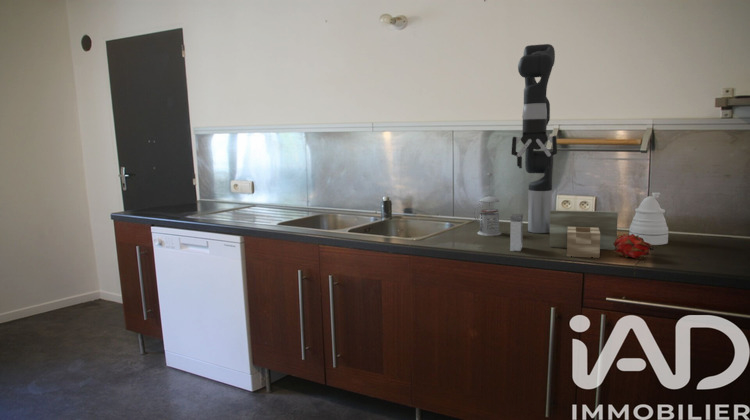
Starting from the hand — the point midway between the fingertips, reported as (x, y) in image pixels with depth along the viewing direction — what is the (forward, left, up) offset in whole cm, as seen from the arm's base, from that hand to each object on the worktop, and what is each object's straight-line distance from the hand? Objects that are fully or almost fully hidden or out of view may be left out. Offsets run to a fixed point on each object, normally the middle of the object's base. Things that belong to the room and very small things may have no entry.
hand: (533, 168), depth 178 cm
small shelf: (-9, +16, -29) cm, 34 cm away
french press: (-36, -20, -30) cm, 51 cm away
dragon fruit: (-4, +31, -30) cm, 43 cm away
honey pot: (-33, +39, -30) cm, 59 cm away
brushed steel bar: (-9, -6, -29) cm, 31 cm away
